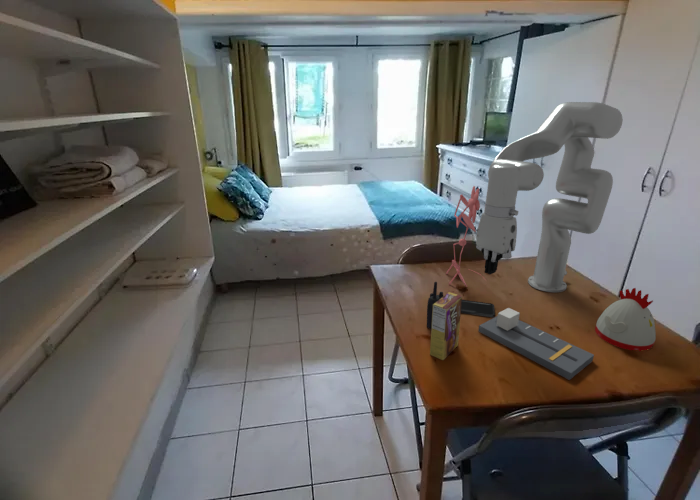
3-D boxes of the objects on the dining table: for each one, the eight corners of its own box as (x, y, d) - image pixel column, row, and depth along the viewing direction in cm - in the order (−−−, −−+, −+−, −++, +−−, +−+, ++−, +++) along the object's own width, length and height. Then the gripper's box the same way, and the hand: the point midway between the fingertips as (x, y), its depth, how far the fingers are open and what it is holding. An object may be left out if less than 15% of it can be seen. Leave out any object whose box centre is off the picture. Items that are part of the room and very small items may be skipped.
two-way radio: (429, 331, 113) (433, 284, 108) (421, 323, 117) (424, 278, 111) (445, 327, 115) (450, 281, 109) (437, 319, 119) (441, 275, 113)
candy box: (444, 339, 109) (448, 291, 103) (458, 345, 106) (464, 296, 101) (428, 354, 103) (432, 303, 97) (442, 361, 100) (448, 309, 94)
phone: (446, 297, 131) (494, 303, 126) (446, 300, 131) (493, 306, 127) (445, 308, 123) (495, 315, 119) (444, 311, 124) (494, 318, 120)
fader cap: (506, 319, 114) (508, 307, 113) (517, 325, 111) (519, 312, 110) (496, 325, 111) (498, 313, 110) (507, 330, 109) (509, 318, 107)
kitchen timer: (632, 356, 102) (647, 306, 96) (584, 329, 114) (595, 283, 108) (664, 343, 107) (681, 295, 102) (615, 319, 119) (628, 274, 113)
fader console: (502, 318, 119) (503, 312, 119) (592, 361, 100) (594, 354, 99) (478, 331, 113) (479, 324, 112) (569, 380, 93) (571, 372, 92)
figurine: (449, 295, 133) (462, 195, 121) (441, 265, 157) (451, 179, 144) (495, 298, 132) (513, 197, 119) (480, 267, 156) (493, 180, 143)
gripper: (532, 214, 102) (521, 278, 108) (484, 203, 113) (476, 261, 120) (516, 219, 98) (505, 285, 104) (467, 207, 109) (460, 267, 115)
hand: (490, 272), depth 112 cm, fingers closed
